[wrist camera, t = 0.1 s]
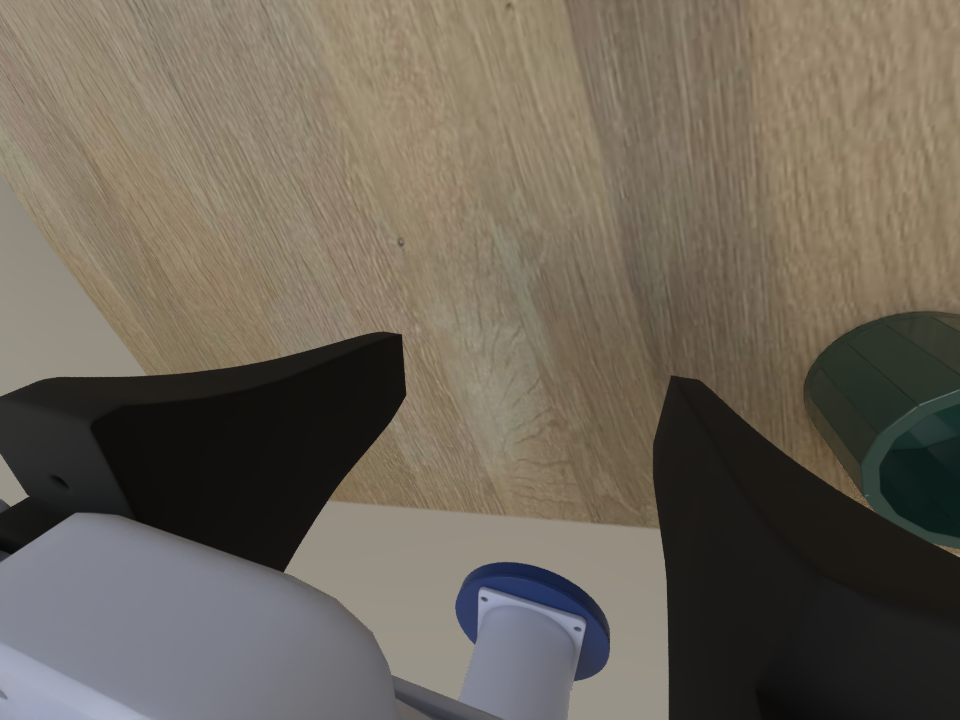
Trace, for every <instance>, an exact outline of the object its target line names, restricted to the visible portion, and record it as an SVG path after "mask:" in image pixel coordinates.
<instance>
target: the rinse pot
mask: <svg viewBox="0 0 960 720" xmlns="http://www.w3.org/2000/svg"><path fill="white" fill-rule="evenodd" d="M804 400H805V405H806V409H807V411H808V413H809V415H810V418H811V420H812V421H813V423H814V424H815V426H816V427H817V429H818V430H819V432H820V433H821V435H822V436H823V438H824V439H825V441H826V442H827V444H828V445H829V447H830V448H831V450H832V451H833V453H834V454H835V456H836V457H837V458H838V460H839V461H840V463H841V464H842V466H843V467H844V469H845V470H846V472H847V473H848V475H849V476H850V478H851V479H852V481H853V482H854V484H855V485H856V487H857V488H858V490H859V491H860V493H861V494H862V495H863V497H864V498H865V499H866V501H867V502H868V503H869V505H870V506H871V507H872V509H873V510H874V511H875V512H876V513H877V514H879V515H880V516H882V517H884V518H886V519H887V520H889V521H891V522H893V523H894V524H896V525H898V526H900V527H902V528H904V529H905V530H907V531H909V532H911V533H913V534H915V535H917V536H919V537H920V538H922V539H924V540H926V541H928V542H930V543H932V544H937V545H942V546H946V547H951V548H955V549H960V316H959V315H955V314H948V313H942V312H913V313H905V314H898V315H894V316H889V317H885V318H882V319H879V320H876V321H872V322H870V323H867V324H865V325H863V326H860V327H858V328H856V329H854V330H852V331H851V332H849V333H847V334H845V335H844V336H842V337H841V338H839V339H838V340H836V341H835V342H834V343H833V344H832V345H830V346H829V347H828V348H827V349H826V350H825V351H824V352H823V353H822V354H821V355H820V356H819V358H818V359H817V360H816V362H815V363H814V364H813V366H812V368H811V370H810V372H809V374H808V377H807V380H806V383H805V389H804Z"/></svg>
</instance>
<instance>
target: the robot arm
mask: <svg viewBox="0 0 960 720" xmlns="http://www.w3.org/2000/svg"><path fill="white" fill-rule="evenodd" d="M405 397H406V385H405V372H404V358H403V345H402V334H396V333H389V332H375V333H370V334H366V335H362V336H358V337H354V338H351V339H347V340H344V341H340V342H337V343H333V344H330V345H327V346H323V347H320V348H316V349H312V350H309V351H305V352H301V353H297V354H293V355H290V356H286V357H282V358H278V359H274V360H269V361H264V362H259V363H254V364H249V365H243V366H238V367H231V368H224V369H216V370H208V371H200V372H192V373H182V374H170V375H155V376H137V377H56V378H50V379H44V380H41V381H37V382H35V383H32V384H30V385H28V386H25V387H23V388H20V389H18V390H15V391H13V392H10V393H8V394H6V395H3V396H1V397H0V454H1V455H2V456H3V458H4V460H5V461H6V463H7V464H8V466H9V467H10V469H11V471H12V472H13V474H14V475H15V477H16V478H17V480H18V481H19V483H20V484H21V486H22V487H23V489H24V490H25V492H26V493H27V495H29V497H28V498H26V499H24V500H23V501H21V502H19V503H17V504H16V505H14V506H12V507H10V506H9V505H8V504H7V503H5V502H4V501H3V500H2V499H0V720H567V717H568V707H569V697H570V691H571V690H572V686H573V682H574V677H575V673H576V668H577V664H578V660H579V655H580V651H581V646H582V642H583V638H584V633H585V629H586V620H585V619H584V618H583V617H582V616H579V615H576V614H572V613H569V612H566V611H563V610H560V609H556V608H553V607H550V606H547V605H543V604H540V603H537V602H534V601H531V600H527V599H524V598H521V597H518V596H514V595H511V594H508V593H505V592H502V591H498V590H495V589H492V588H489V587H485V586H483V587H481V588H480V590H479V595H478V636H477V640H476V644H475V647H474V650H473V653H472V657H471V660H470V663H469V666H468V670H467V673H466V676H465V680H464V683H463V686H462V689H461V693H460V696H459V699H458V701H456V700H454V699H451V698H449V697H446V696H444V695H441V694H439V693H436V692H434V691H431V690H428V689H426V688H424V687H421V686H418V685H416V684H413V683H411V682H408V681H406V680H403V679H401V678H398V677H396V676H393V675H391V672H390V669H389V665H388V663H387V661H386V659H385V657H384V655H383V653H382V651H381V649H380V647H379V645H378V643H377V641H376V639H375V637H374V635H373V633H372V632H371V631H370V630H369V629H368V628H367V627H366V626H365V625H364V624H363V623H362V622H361V621H360V620H358V619H357V618H356V617H355V616H354V615H353V614H352V613H351V612H350V611H349V610H348V609H346V608H345V607H344V606H343V605H342V604H341V603H340V602H339V601H338V600H337V599H336V598H334V597H332V596H330V595H328V594H326V593H324V592H322V591H320V590H318V589H316V588H315V587H312V586H311V585H309V584H307V583H305V582H303V581H301V580H299V579H297V578H296V577H294V576H292V575H289V574H286V573H284V571H285V569H286V567H287V565H288V564H289V562H290V560H291V558H292V557H293V555H294V553H295V551H296V550H297V548H298V547H299V545H300V543H301V541H302V540H303V538H304V537H305V535H306V534H307V532H308V530H309V529H310V527H311V526H312V524H313V522H314V521H315V519H316V518H317V516H318V515H319V513H320V512H321V510H322V508H323V507H324V505H325V504H326V502H327V501H328V499H329V498H330V496H331V495H332V493H333V492H334V490H335V489H336V488H337V486H338V485H339V484H340V483H341V481H342V480H343V479H344V477H345V476H346V475H347V474H348V472H349V471H350V470H351V469H352V468H353V466H354V465H355V464H356V463H357V462H358V461H359V459H360V458H361V457H362V456H363V455H364V453H365V452H366V451H367V450H368V449H369V447H370V446H371V445H372V444H373V443H374V441H375V440H376V439H377V438H378V437H379V435H380V434H381V433H382V432H383V430H384V429H385V428H386V427H387V426H388V424H389V423H390V422H391V420H392V419H393V417H394V415H395V414H396V412H397V411H398V409H399V407H400V405H401V404H402V402H403V400H404V398H405ZM653 480H654V488H655V496H656V503H657V510H658V517H659V524H660V531H661V538H662V545H663V551H664V558H665V568H666V579H667V608H668V655H669V720H960V557H958V556H956V555H954V554H952V553H950V552H948V551H946V550H944V549H942V548H940V547H938V546H936V545H934V544H932V543H930V542H928V541H926V540H924V539H922V538H920V537H919V536H917V535H915V534H913V533H911V532H909V531H907V530H905V529H904V528H902V527H900V526H898V525H896V524H894V523H893V522H891V521H889V520H887V519H886V518H884V517H882V516H880V515H879V514H877V513H875V512H873V511H872V510H870V509H868V508H867V507H865V506H863V505H861V504H860V503H858V502H856V501H854V500H853V499H851V498H850V497H848V496H846V495H845V494H843V493H842V492H840V491H838V490H837V489H835V488H834V487H832V486H830V485H829V484H827V483H826V482H825V481H823V480H822V479H820V478H819V477H817V476H816V475H814V474H813V473H811V472H810V471H808V470H807V469H805V468H804V467H802V466H801V465H799V464H798V463H797V462H795V461H794V460H793V459H791V458H790V457H788V456H787V455H786V454H785V453H783V452H782V451H781V450H779V449H778V448H777V447H776V446H774V445H773V444H772V443H771V442H769V441H768V440H767V439H766V438H764V437H763V436H762V435H761V434H759V433H758V432H757V431H756V430H755V429H754V428H752V427H751V426H750V425H749V424H748V423H747V422H745V421H744V420H743V419H742V418H741V417H740V416H739V415H738V414H737V413H735V412H734V411H733V410H732V409H731V408H730V407H729V406H728V405H727V404H726V403H725V402H724V401H722V400H721V399H720V398H719V397H718V396H717V395H716V394H715V393H714V392H713V391H712V390H711V389H709V388H708V387H707V386H706V385H705V384H704V383H703V382H701V381H700V380H697V379H690V378H684V377H677V376H671V378H670V382H669V386H668V390H667V394H666V397H665V401H664V405H663V409H662V413H661V416H660V420H659V424H658V428H657V431H656V435H655V439H654V443H653Z"/></svg>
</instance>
